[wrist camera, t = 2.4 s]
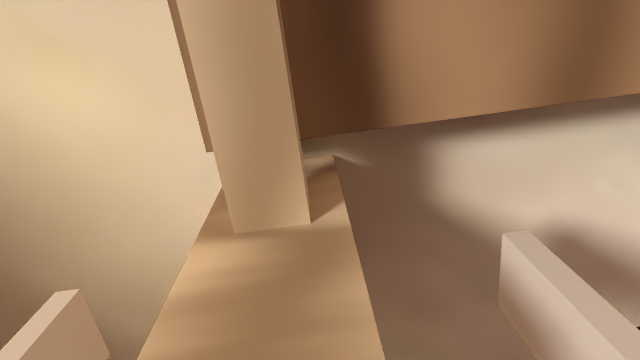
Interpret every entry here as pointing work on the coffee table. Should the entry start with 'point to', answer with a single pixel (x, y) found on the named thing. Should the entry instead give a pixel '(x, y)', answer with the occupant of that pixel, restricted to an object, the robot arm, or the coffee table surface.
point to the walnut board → (445, 58)
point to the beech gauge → (262, 214)
